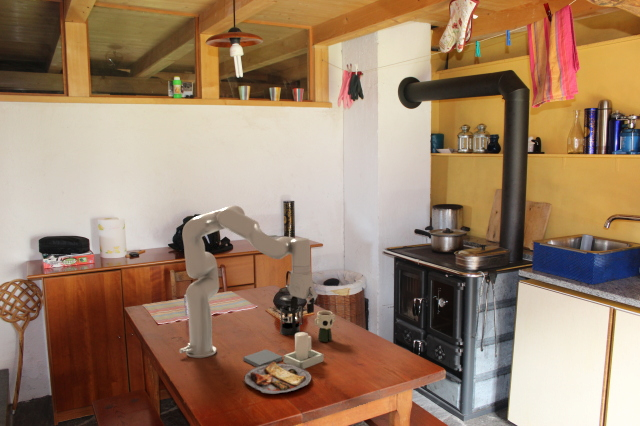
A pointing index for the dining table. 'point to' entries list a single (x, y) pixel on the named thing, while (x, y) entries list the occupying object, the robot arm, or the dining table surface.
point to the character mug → (325, 325)
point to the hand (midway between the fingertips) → (302, 310)
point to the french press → (290, 318)
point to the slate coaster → (262, 358)
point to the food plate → (277, 377)
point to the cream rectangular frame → (314, 359)
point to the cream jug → (302, 346)
